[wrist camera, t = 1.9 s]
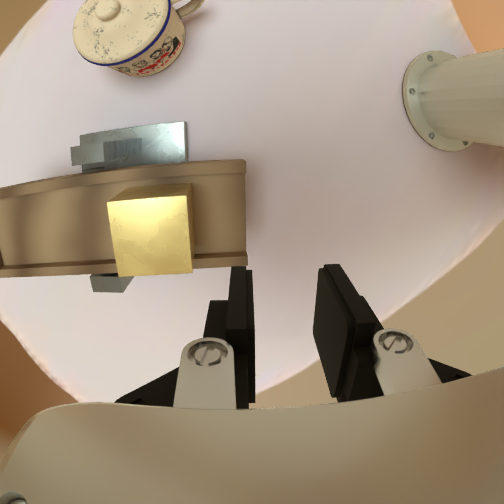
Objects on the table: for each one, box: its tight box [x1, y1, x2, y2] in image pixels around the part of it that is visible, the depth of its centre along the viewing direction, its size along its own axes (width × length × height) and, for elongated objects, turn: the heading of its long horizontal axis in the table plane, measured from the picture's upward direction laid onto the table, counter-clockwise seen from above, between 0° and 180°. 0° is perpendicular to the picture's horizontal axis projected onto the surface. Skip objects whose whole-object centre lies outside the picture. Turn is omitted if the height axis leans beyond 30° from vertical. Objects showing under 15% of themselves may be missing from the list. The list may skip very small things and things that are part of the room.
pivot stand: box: [71, 122, 188, 293], centre depth 28 cm, size 12×15×11 cm
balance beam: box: [0, 159, 248, 278], centre depth 24 cm, size 24×8×4 cm, turn 91°
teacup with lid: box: [73, 0, 204, 77], centre depth 21 cm, size 12×9×12 cm
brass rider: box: [107, 183, 195, 277], centre depth 21 cm, size 5×5×5 cm
